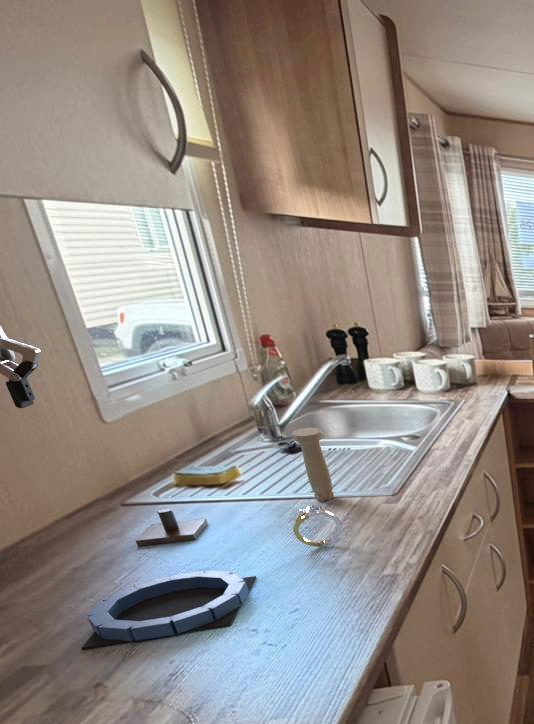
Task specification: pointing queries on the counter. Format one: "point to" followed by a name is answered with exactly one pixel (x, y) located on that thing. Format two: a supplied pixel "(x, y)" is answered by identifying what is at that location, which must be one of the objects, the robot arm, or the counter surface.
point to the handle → (315, 462)
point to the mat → (171, 611)
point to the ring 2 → (311, 512)
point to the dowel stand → (171, 530)
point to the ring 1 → (114, 629)
